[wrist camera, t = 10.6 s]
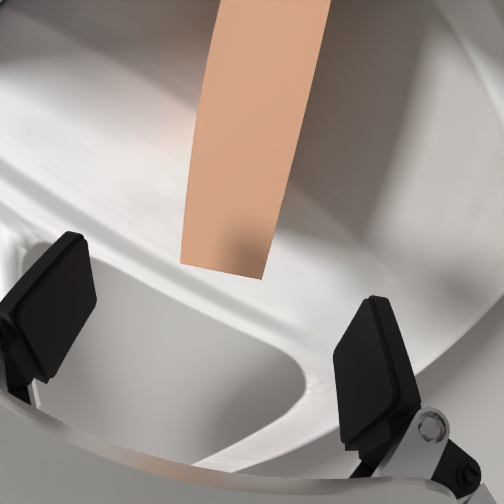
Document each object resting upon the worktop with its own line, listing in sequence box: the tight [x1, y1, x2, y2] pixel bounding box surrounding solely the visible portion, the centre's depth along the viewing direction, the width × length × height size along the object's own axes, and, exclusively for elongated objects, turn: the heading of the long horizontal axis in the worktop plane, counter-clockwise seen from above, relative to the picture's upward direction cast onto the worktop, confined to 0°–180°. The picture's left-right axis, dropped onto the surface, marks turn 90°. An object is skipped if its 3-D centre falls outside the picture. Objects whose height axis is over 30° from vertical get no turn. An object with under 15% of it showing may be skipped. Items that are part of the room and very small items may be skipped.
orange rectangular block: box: [180, 0, 331, 280], centre depth 12 cm, size 4×18×7 cm, turn 169°
